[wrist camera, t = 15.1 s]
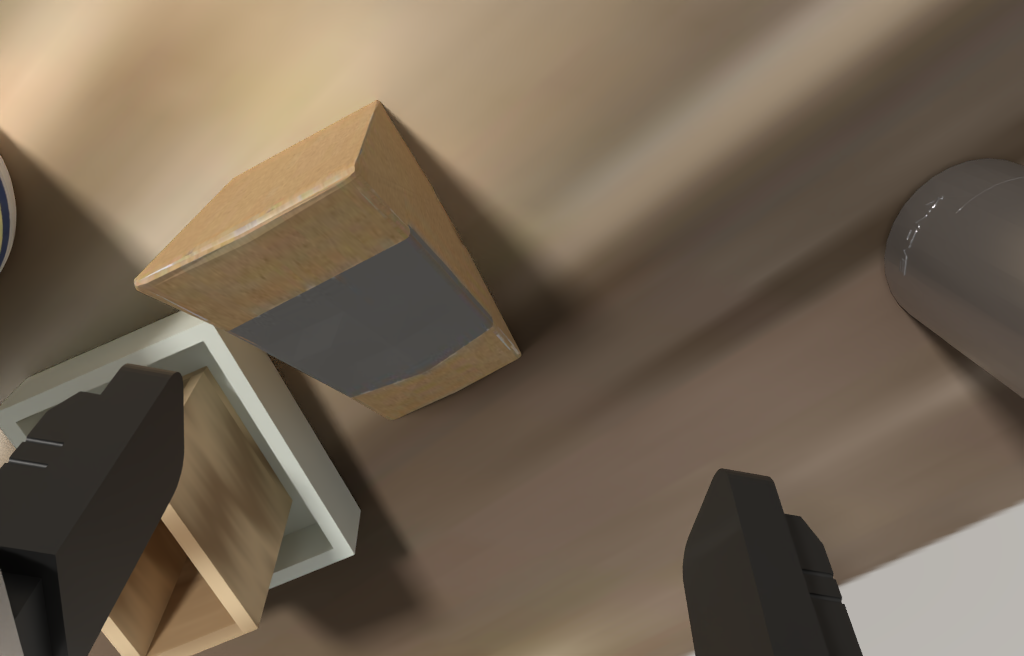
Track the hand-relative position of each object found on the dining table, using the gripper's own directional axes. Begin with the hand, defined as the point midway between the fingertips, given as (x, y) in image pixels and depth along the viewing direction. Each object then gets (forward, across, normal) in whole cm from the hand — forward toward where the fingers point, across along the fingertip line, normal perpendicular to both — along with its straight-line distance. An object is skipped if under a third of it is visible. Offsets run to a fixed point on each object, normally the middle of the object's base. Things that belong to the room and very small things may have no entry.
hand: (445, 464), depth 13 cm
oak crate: (+25, +12, +24) cm, 37 cm away
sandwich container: (+29, +4, +13) cm, 32 cm away
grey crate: (+26, +12, +24) cm, 38 cm away
